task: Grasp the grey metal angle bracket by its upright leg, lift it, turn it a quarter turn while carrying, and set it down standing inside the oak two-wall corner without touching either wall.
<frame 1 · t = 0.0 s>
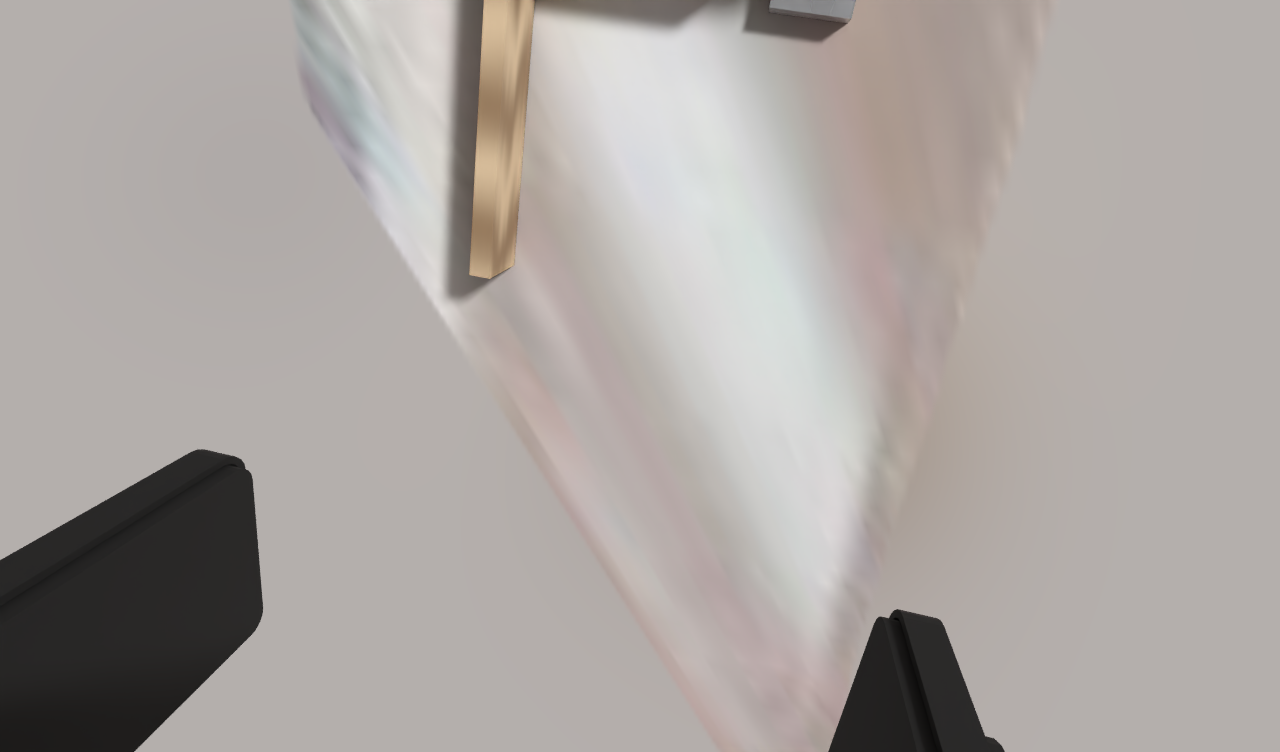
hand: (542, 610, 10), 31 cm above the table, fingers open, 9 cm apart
wooden corner frame: (636, 127, 37), on the table
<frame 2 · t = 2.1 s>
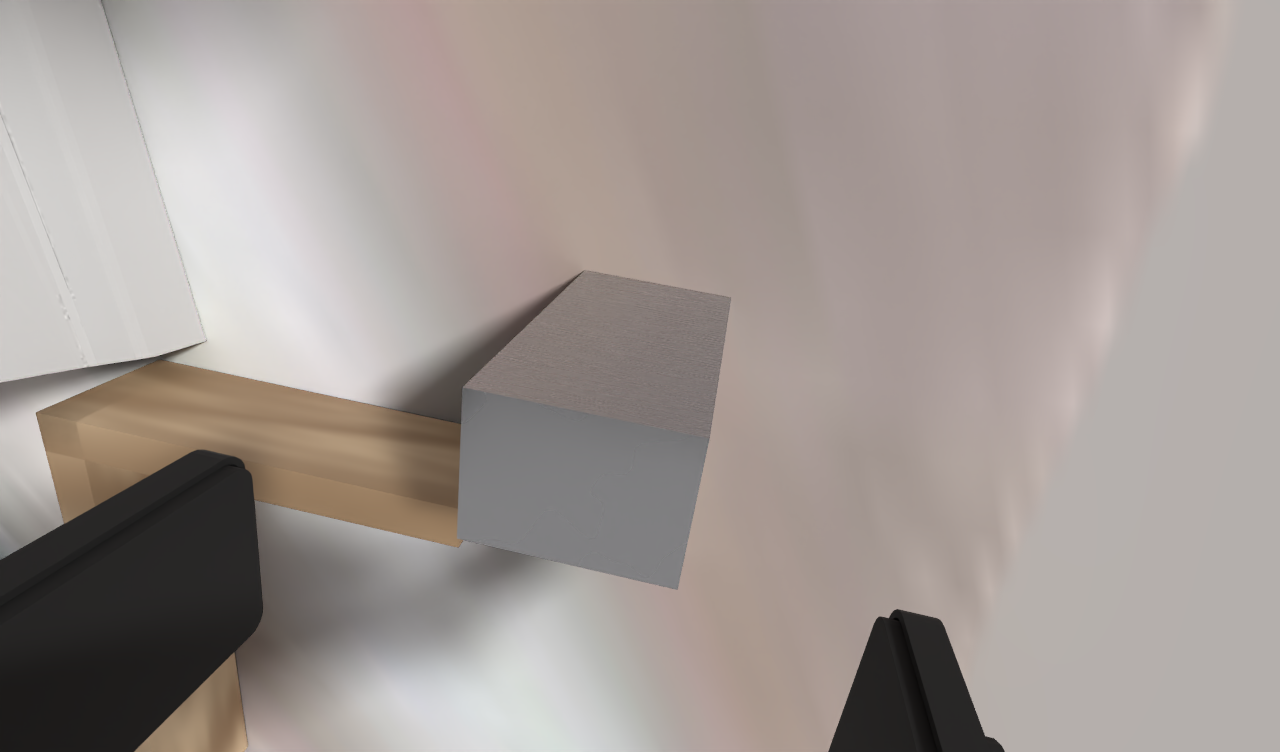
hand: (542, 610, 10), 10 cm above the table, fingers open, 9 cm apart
bracket: (648, 336, 18), on the table
wooden corner frame: (383, 623, 24), on the table
hinge: (16, 71, 19), on the table
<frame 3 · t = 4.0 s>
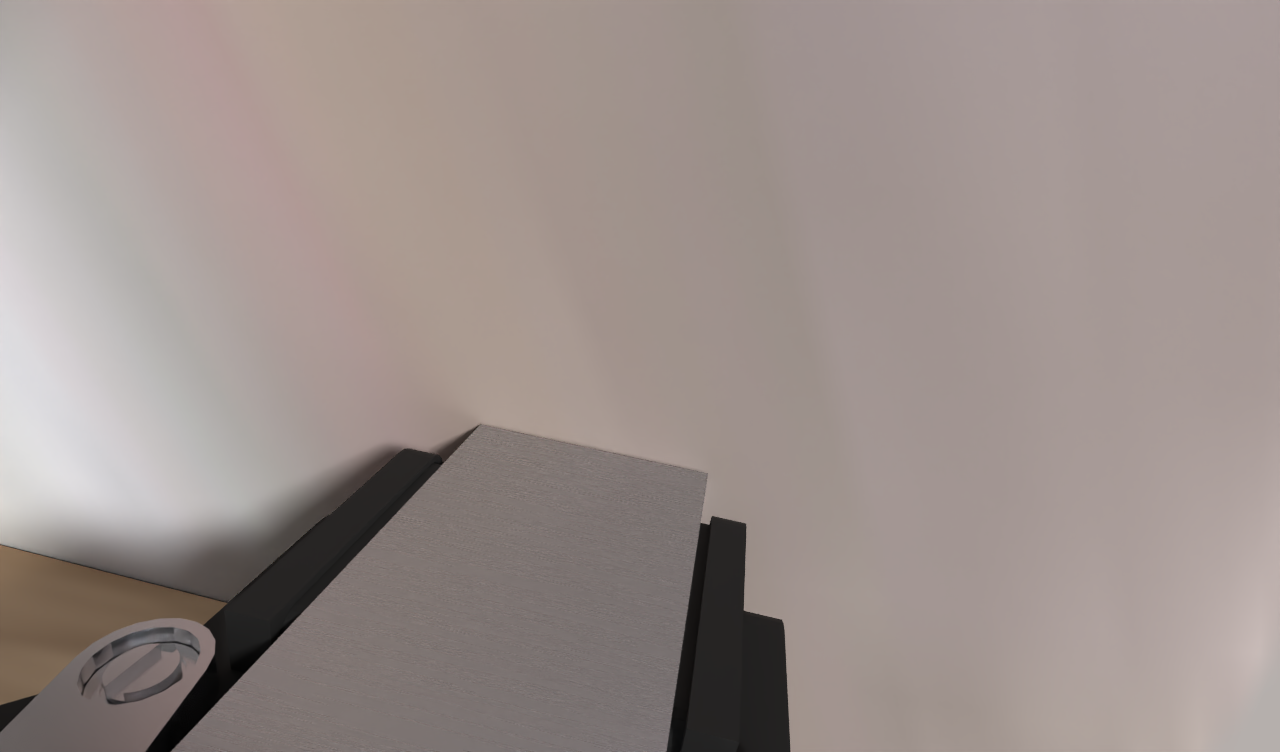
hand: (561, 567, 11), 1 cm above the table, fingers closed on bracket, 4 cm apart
bracket: (581, 522, 12), on the table, touching gripper
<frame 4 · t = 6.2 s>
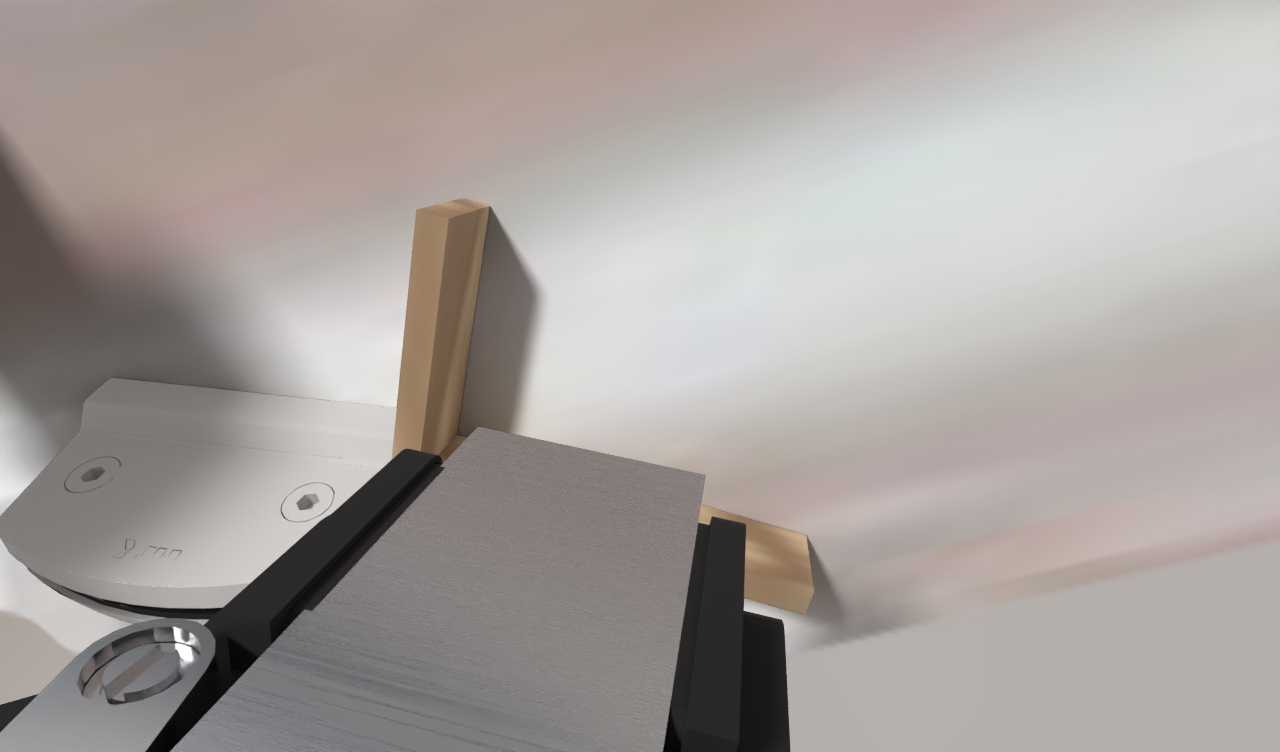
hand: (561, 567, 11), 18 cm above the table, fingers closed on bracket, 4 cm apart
bracket: (579, 524, 12), point 17 cm above the table, touching gripper
wooden corner frame: (648, 354, 28), on the table
hinge: (274, 460, 34), on the table
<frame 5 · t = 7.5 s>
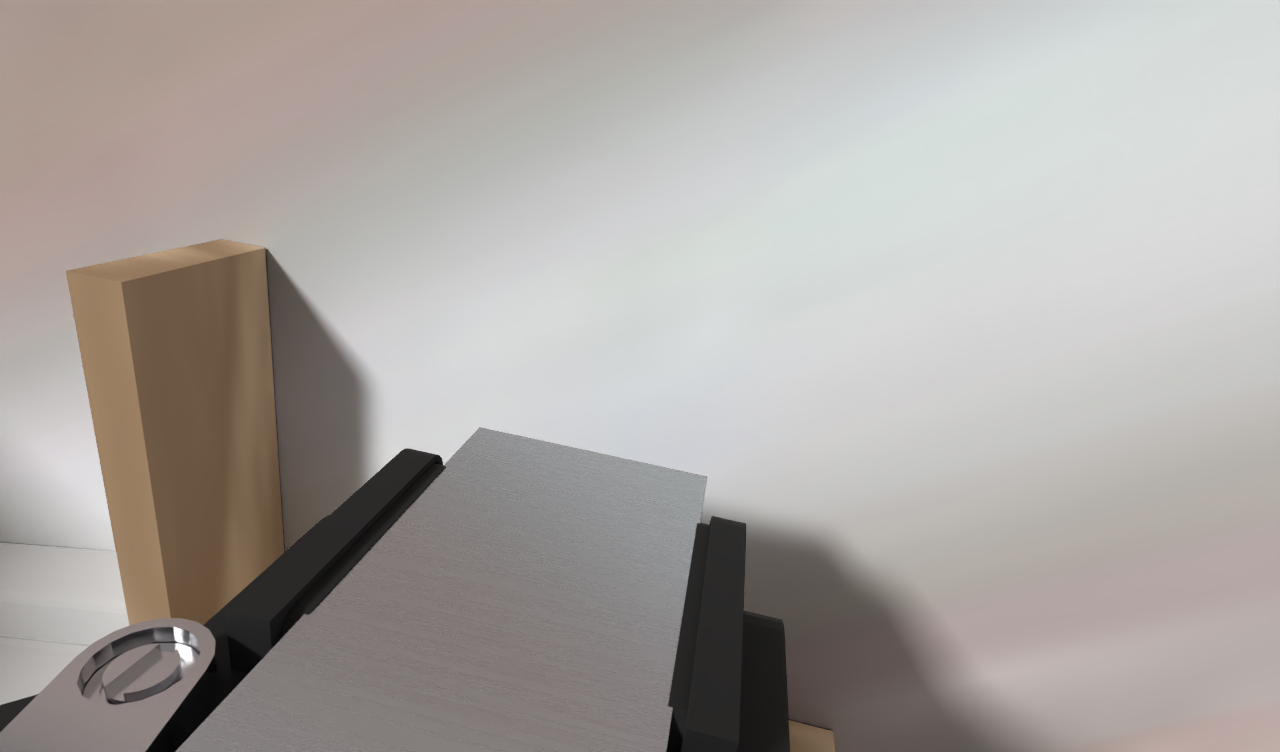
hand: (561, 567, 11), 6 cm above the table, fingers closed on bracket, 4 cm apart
bracket: (581, 525, 12), point 5 cm above the table, touching gripper
wooden corner frame: (549, 467, 17), on the table
hinge: (55, 629, 23), on the table
when the fingers open (2 cm above the table, at t = 8.6 s): bracket drops 1 cm, on the table.
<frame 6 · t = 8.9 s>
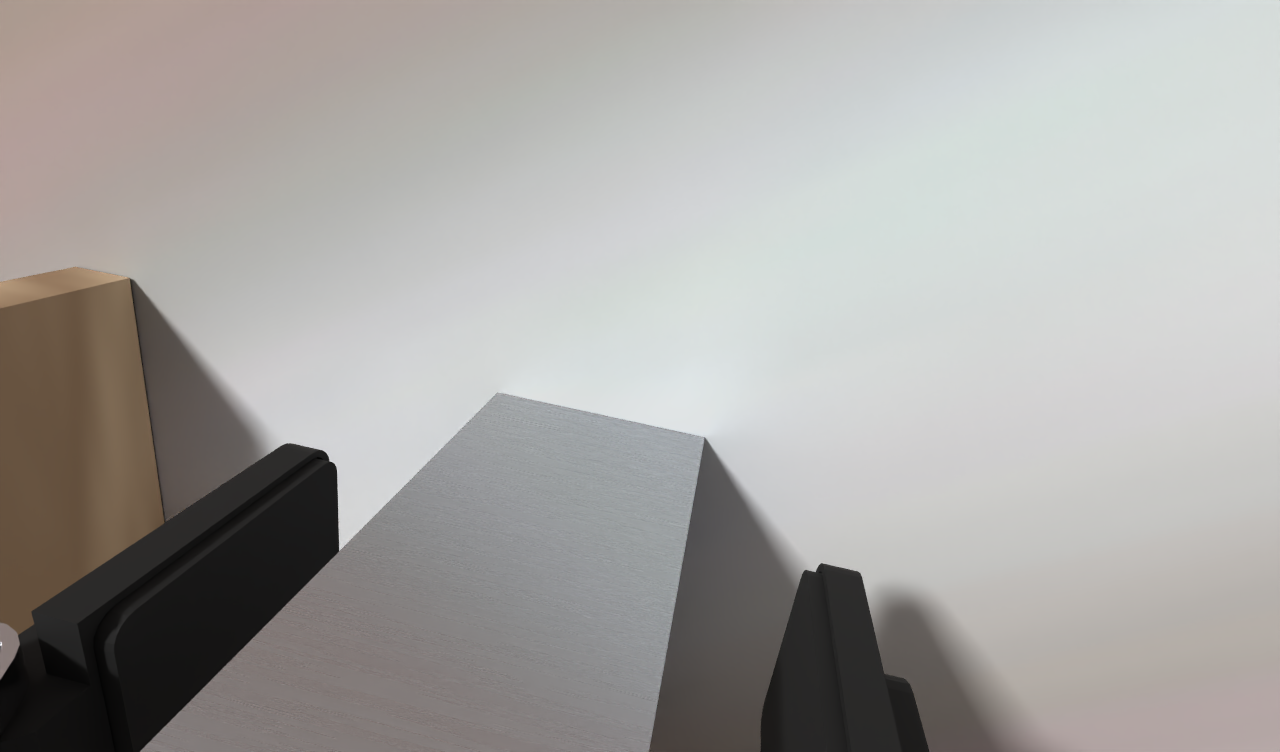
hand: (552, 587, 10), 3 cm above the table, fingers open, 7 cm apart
bracket: (589, 483, 13), on the table
wooden corner frame: (492, 550, 14), on the table
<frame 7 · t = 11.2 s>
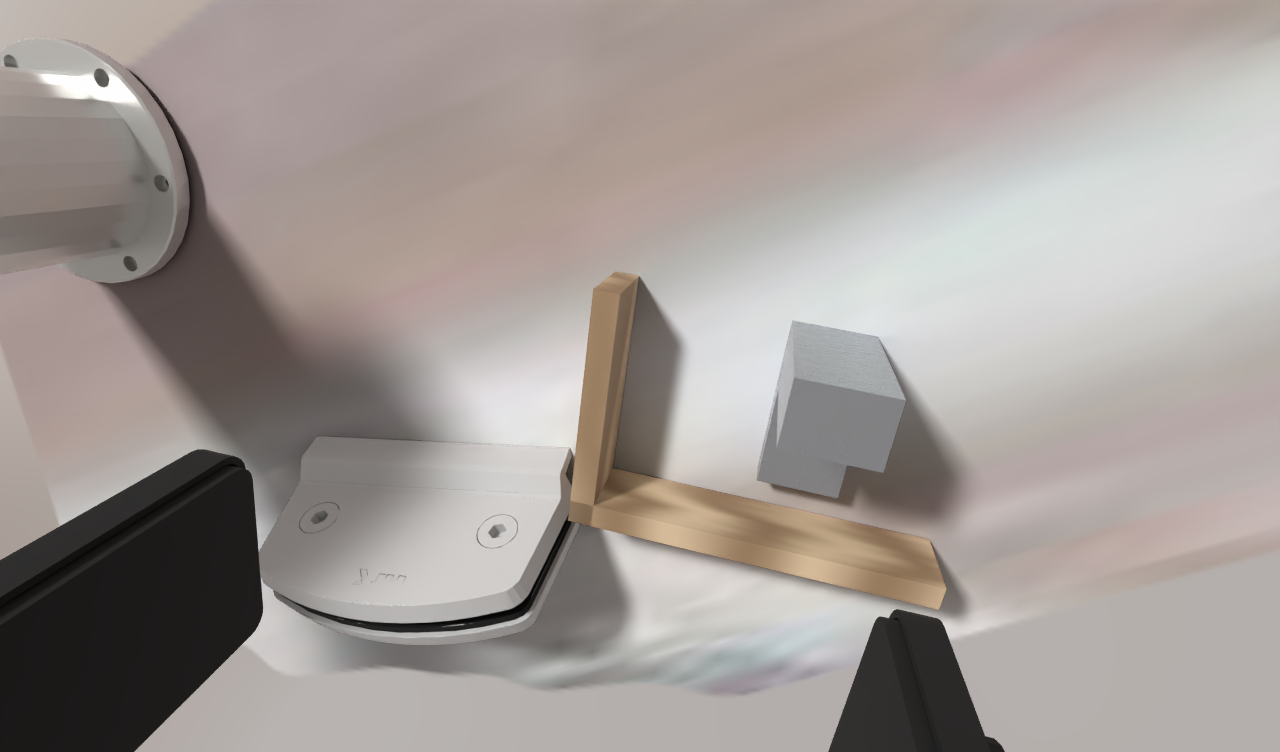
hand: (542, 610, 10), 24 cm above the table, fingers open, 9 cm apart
bracket: (827, 358, 32), on the table
wooden corner frame: (779, 390, 33), on the table
hinge: (450, 497, 40), on the table
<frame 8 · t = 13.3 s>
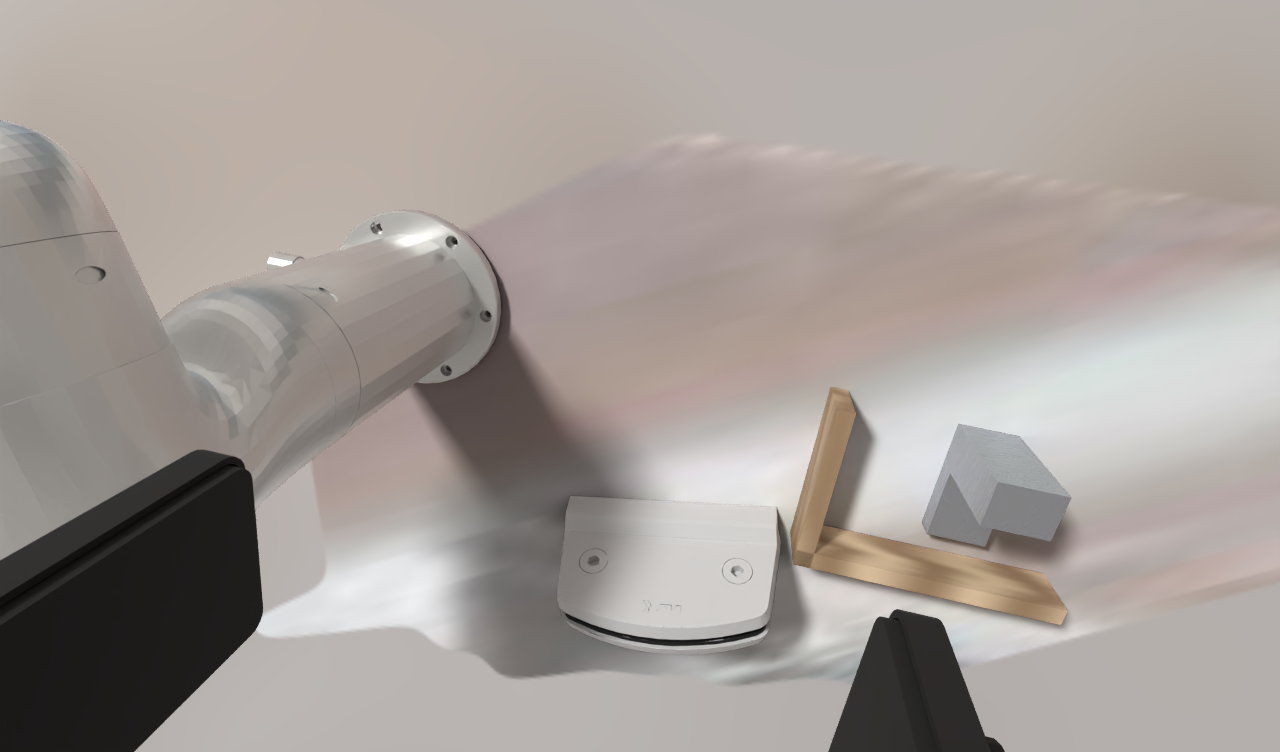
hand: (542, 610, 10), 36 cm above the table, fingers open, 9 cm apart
bracket: (981, 449, 45), on the table
wooden corner frame: (944, 470, 46), on the table
hinge: (672, 541, 52), on the table
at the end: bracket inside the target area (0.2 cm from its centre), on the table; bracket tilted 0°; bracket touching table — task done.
